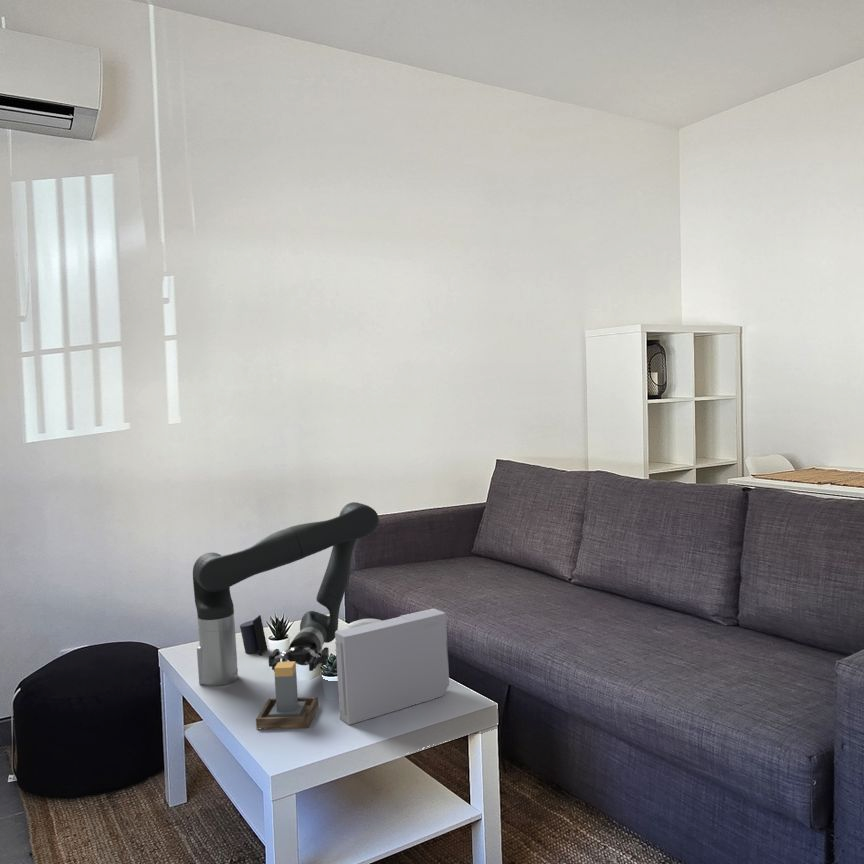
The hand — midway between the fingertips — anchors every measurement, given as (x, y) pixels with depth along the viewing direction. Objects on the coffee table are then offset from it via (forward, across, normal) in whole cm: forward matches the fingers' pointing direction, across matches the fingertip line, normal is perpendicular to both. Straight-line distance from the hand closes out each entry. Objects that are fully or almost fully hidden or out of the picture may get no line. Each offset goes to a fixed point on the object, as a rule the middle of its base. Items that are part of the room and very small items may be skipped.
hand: (292, 667), depth 188 cm
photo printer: (-26, +14, +9) cm, 31 cm away
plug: (+8, 0, +8) cm, 11 cm away
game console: (+3, +24, +9) cm, 26 cm away
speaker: (-40, -21, +9) cm, 46 cm away
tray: (+8, 0, +9) cm, 12 cm away
